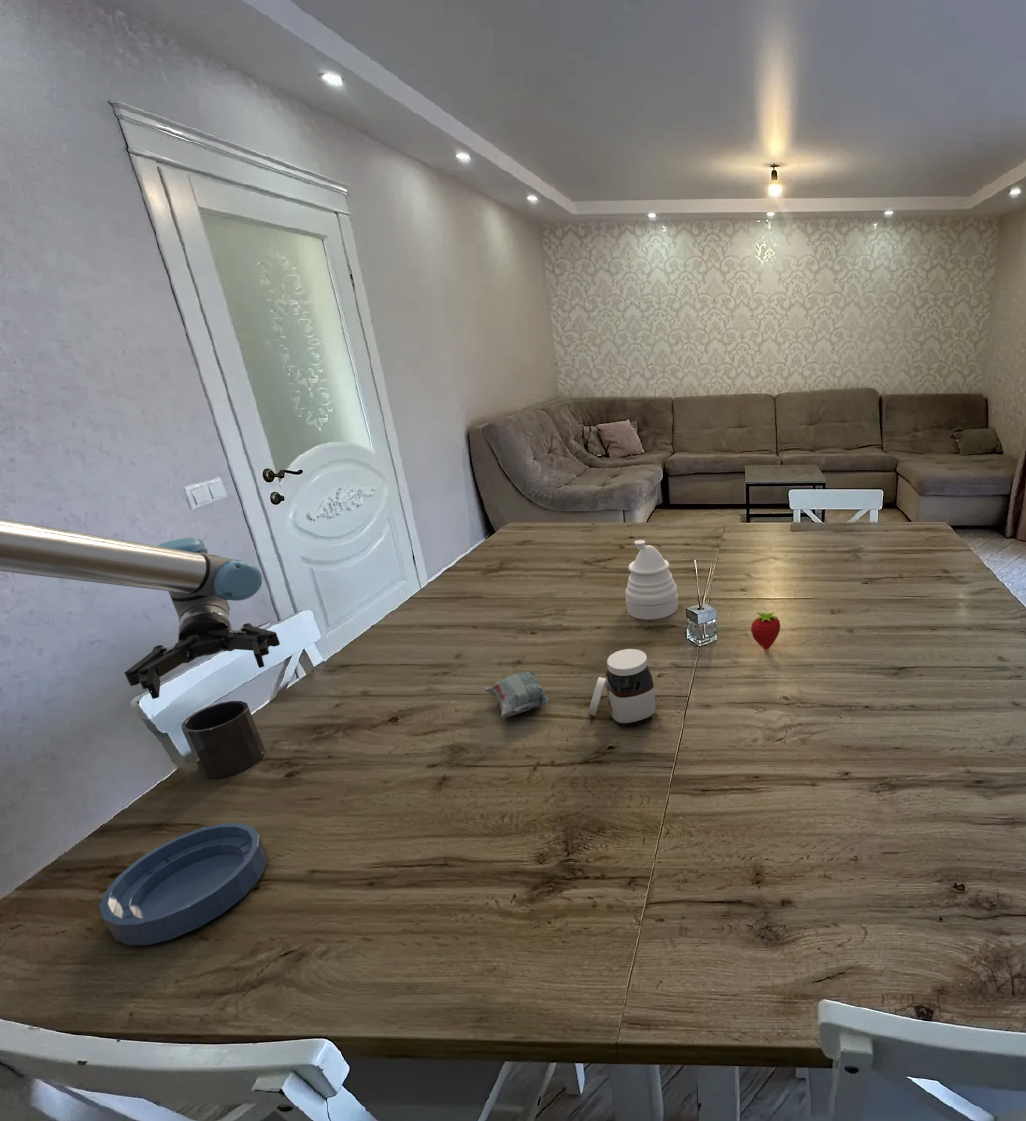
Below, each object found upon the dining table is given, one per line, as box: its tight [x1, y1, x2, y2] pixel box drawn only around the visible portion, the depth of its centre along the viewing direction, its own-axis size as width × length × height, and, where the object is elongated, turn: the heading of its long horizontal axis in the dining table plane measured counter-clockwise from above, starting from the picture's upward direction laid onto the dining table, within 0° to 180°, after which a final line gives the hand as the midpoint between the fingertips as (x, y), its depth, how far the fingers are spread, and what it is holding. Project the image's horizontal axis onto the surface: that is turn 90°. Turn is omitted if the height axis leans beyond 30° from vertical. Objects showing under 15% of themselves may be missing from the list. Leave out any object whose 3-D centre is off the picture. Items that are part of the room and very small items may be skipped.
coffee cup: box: [181, 700, 266, 780], centre depth 94 cm, size 8×8×9 cm
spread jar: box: [587, 648, 656, 727], centre depth 104 cm, size 12×11×12 cm
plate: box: [99, 822, 268, 946], centre depth 72 cm, size 14×14×4 cm
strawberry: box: [750, 608, 782, 651], centre depth 126 cm, size 6×8×10 cm
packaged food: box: [485, 670, 550, 720], centre depth 108 cm, size 9×12×5 cm
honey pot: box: [624, 539, 679, 620], centre depth 144 cm, size 13×13×18 cm
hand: (208, 675), depth 98 cm, fingers open, 13 cm apart
